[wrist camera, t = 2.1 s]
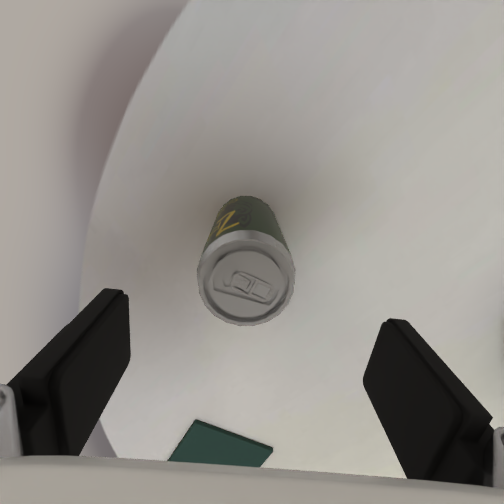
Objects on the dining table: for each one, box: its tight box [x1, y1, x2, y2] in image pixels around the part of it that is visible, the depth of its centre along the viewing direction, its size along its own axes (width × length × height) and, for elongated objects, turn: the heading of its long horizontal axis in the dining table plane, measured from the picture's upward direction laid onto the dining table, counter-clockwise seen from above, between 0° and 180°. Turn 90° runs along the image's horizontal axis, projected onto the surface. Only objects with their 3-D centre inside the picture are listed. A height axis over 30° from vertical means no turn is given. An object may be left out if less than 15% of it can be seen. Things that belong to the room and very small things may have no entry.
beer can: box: [197, 196, 295, 326], centre depth 20 cm, size 5×5×12 cm
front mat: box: [168, 420, 273, 467], centre depth 37 cm, size 11×11×1 cm
